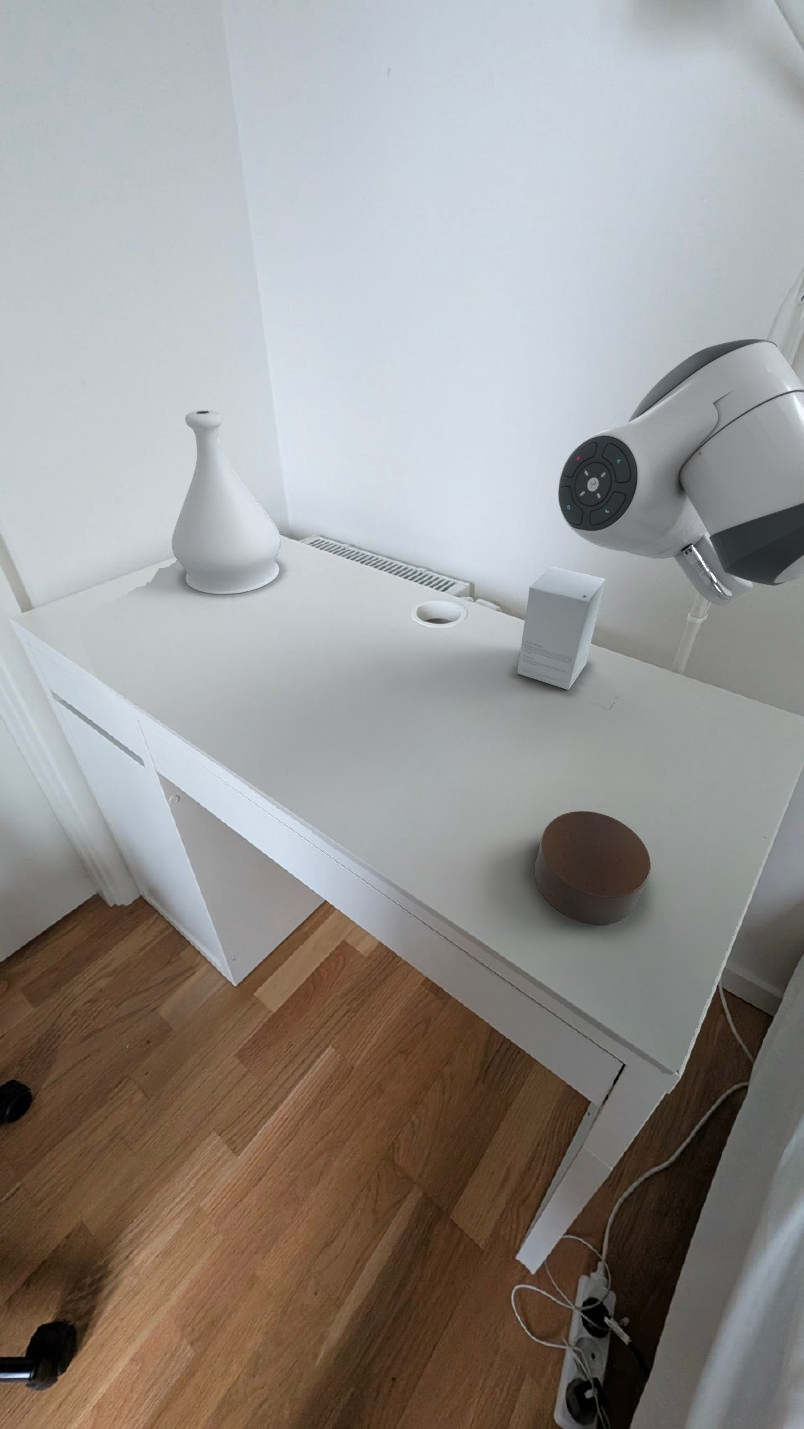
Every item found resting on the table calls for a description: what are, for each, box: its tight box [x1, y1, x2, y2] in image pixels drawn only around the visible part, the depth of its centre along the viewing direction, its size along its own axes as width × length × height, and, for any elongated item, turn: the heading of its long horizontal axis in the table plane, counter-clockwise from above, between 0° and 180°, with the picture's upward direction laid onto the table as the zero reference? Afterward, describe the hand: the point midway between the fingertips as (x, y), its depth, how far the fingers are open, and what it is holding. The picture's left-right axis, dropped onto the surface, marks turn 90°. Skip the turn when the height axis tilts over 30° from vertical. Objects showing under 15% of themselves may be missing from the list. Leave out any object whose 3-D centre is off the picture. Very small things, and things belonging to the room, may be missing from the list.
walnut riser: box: [534, 810, 652, 925], centre depth 50 cm, size 9×9×4 cm
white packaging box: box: [517, 565, 607, 691], centre depth 73 cm, size 7×7×13 cm
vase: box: [171, 409, 282, 595], centre depth 91 cm, size 17×17×25 cm
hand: (700, 527), depth 67 cm, fingers open, 8 cm apart
